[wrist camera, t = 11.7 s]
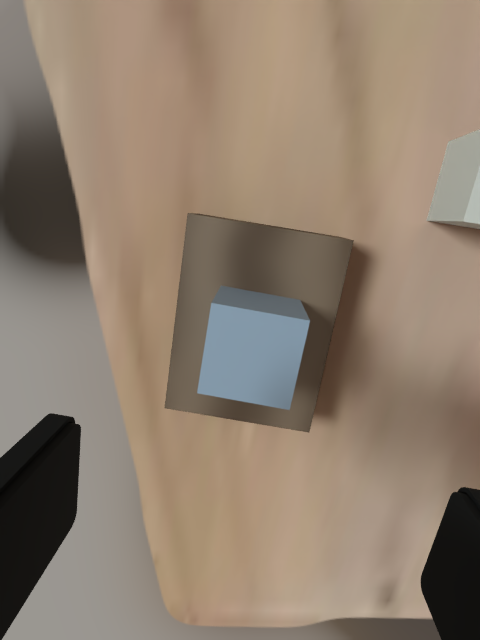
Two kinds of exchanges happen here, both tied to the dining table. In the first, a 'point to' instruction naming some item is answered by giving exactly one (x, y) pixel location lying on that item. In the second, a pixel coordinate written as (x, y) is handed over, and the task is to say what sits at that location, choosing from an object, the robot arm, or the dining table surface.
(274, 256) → the walnut base block
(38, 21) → the dining table surface
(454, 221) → the cream block
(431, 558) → the robot arm
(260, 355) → the slate blue block
